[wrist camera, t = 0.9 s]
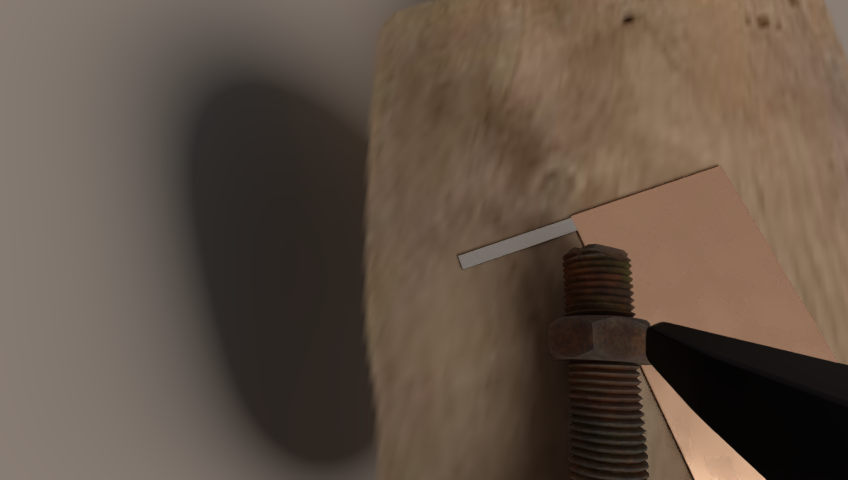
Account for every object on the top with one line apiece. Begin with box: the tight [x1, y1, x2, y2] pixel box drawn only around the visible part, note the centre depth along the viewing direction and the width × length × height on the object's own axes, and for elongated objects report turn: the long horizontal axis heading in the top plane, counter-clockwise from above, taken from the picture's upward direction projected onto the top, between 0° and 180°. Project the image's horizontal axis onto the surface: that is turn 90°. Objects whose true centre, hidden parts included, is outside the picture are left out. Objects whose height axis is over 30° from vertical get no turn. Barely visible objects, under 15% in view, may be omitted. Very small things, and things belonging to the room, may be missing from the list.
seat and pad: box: [458, 166, 838, 480], centre depth 22 cm, size 19×17×1 cm
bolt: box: [548, 244, 651, 480], centre depth 19 cm, size 6×5×15 cm
